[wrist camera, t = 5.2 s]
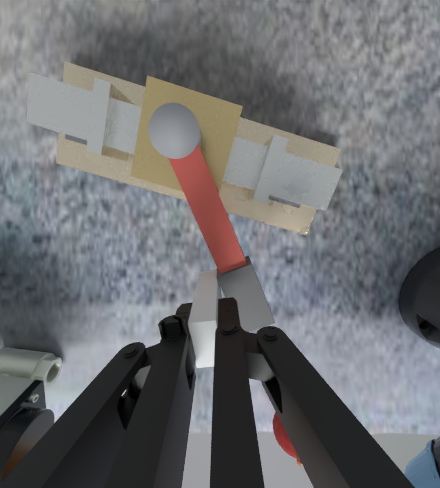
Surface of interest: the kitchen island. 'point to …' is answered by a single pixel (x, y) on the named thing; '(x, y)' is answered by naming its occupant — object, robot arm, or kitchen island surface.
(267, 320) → the lever
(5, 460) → the ball valve
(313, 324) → the kitchen island surface
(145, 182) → the valve pipe
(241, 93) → the kitchen island surface
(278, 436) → the onion
